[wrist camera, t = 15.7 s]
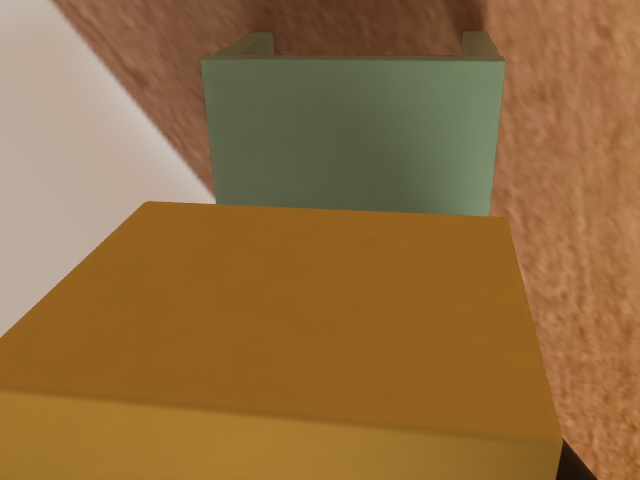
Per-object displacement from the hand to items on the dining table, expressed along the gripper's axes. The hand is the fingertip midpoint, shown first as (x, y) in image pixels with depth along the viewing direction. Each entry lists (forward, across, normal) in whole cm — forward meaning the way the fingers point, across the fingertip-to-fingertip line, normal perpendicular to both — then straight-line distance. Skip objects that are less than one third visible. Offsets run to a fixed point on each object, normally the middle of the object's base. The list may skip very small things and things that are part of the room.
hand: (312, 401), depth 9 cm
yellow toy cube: (+1, 0, 0) cm, 1 cm away
